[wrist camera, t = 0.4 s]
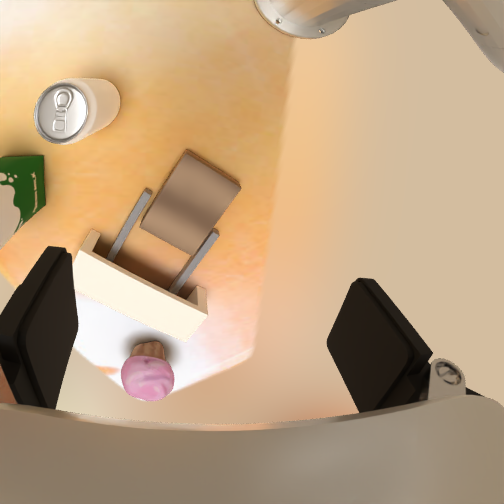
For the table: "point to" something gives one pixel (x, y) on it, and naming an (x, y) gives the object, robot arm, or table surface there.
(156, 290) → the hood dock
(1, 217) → the milk carton
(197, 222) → the walnut tile
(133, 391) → the cupcake
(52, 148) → the table surface
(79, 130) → the can
